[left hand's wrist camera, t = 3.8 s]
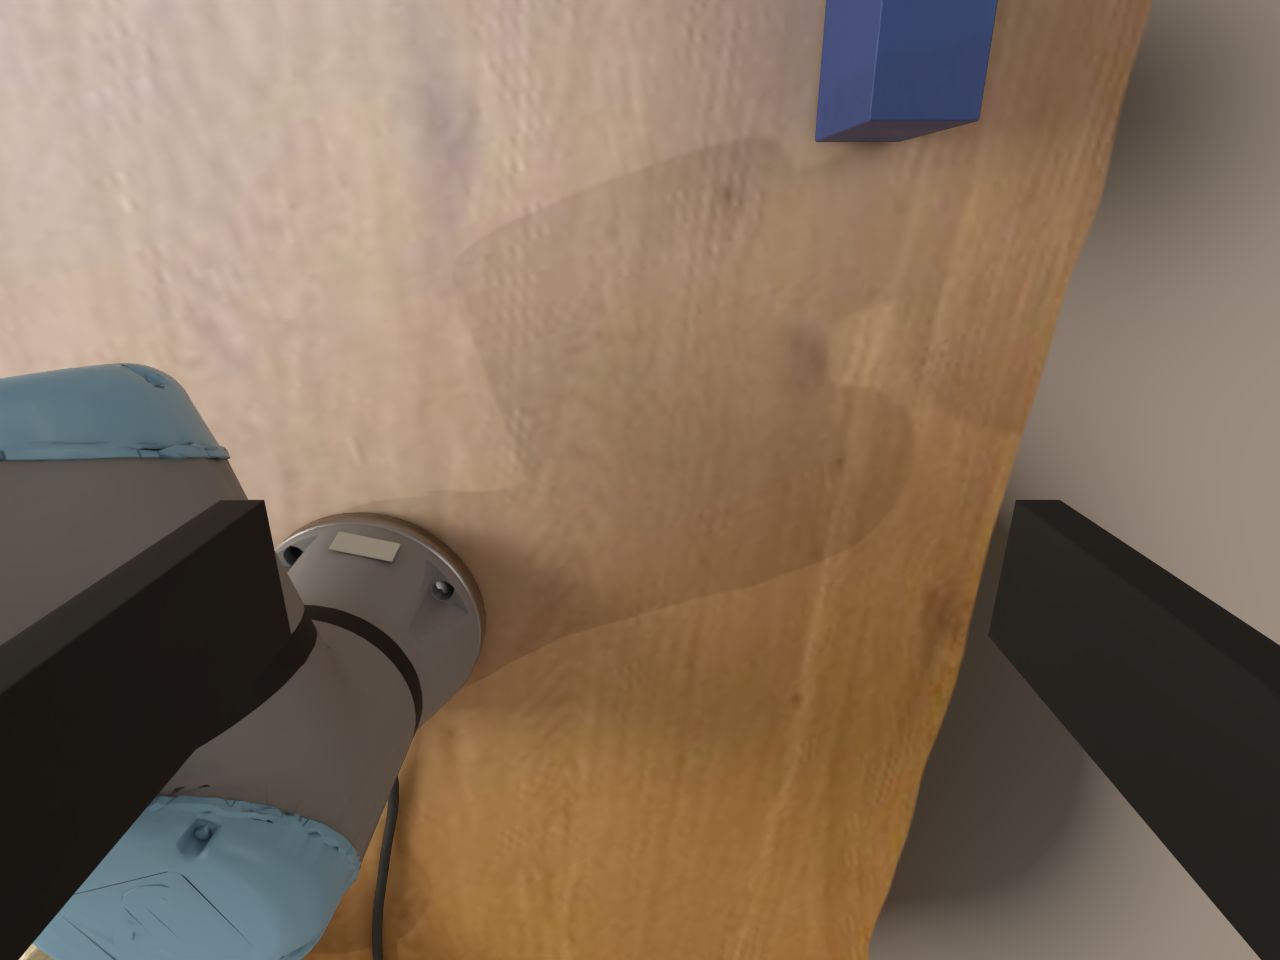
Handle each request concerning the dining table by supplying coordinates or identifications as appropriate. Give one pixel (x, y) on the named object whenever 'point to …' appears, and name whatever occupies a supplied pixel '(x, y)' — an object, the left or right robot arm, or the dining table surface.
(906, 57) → the bar
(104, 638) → the left robot arm
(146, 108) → the dining table surface
